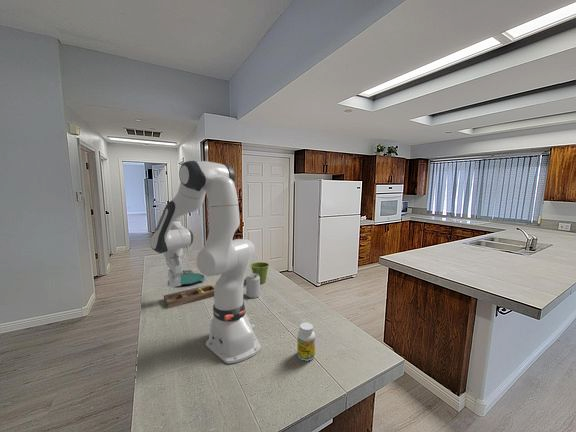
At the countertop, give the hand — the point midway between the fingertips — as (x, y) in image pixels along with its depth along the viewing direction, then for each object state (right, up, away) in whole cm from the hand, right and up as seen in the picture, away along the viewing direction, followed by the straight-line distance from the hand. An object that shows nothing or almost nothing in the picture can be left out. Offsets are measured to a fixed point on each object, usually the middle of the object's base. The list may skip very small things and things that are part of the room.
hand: (174, 278), depth 126 cm
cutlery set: (-8, -9, +34) cm, 36 cm away
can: (+39, -13, +10) cm, 42 cm away
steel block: (0, -4, 0) cm, 4 cm away
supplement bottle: (+65, -19, -38) cm, 77 cm away
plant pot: (+41, -10, +30) cm, 51 cm away
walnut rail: (+6, -12, +7) cm, 15 cm away
